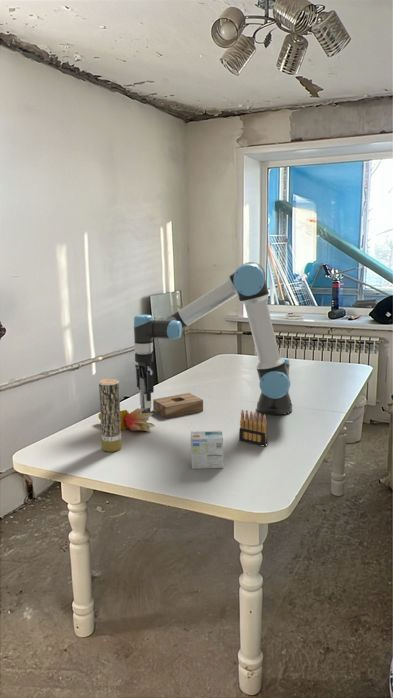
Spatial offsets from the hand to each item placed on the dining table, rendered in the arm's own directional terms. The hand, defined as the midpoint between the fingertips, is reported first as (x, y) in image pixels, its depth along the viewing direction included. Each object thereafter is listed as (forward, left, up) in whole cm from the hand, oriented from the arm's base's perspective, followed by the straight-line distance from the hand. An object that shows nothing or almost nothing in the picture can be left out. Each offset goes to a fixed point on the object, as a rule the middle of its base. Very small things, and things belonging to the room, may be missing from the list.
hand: (145, 406), depth 222 cm
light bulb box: (-56, +4, -4) cm, 56 cm away
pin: (0, 0, -4) cm, 4 cm away
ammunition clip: (-49, -20, -4) cm, 53 cm away
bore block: (-3, -14, -4) cm, 15 cm away
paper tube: (-27, +26, -4) cm, 38 cm away
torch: (-10, +13, -4) cm, 17 cm away
